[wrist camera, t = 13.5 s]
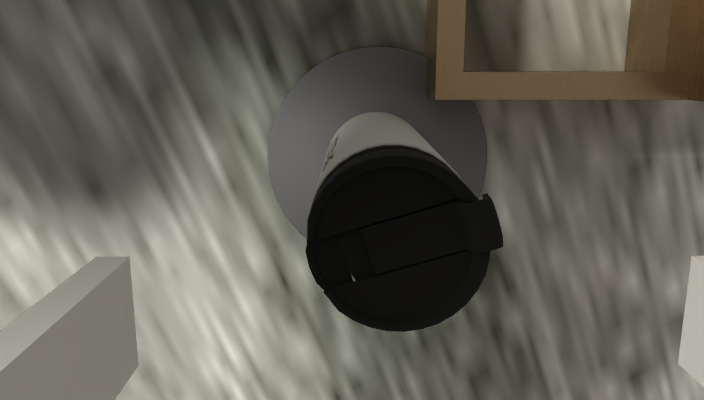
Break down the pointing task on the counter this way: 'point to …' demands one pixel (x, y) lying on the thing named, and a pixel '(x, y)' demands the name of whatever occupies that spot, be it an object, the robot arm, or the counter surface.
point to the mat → (359, 97)
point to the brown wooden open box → (632, 84)
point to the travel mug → (396, 227)
